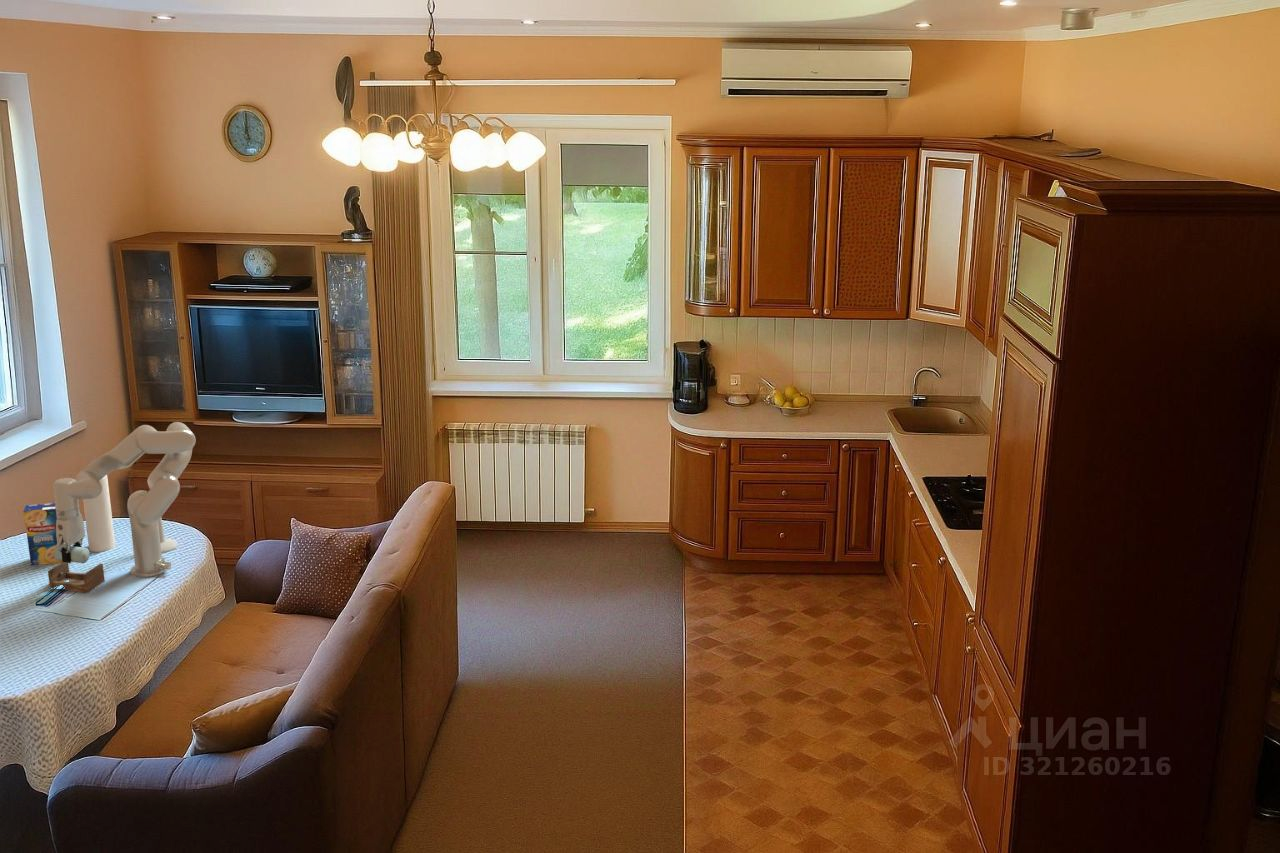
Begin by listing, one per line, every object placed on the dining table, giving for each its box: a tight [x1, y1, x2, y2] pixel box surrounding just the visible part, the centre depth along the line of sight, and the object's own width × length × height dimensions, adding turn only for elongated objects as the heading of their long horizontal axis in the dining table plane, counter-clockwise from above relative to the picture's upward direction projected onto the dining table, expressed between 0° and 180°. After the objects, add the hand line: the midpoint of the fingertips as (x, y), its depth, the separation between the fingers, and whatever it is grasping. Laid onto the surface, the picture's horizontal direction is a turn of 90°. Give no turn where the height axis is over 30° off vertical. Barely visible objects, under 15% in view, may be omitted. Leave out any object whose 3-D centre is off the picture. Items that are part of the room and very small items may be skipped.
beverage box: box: [23, 502, 62, 566], centre depth 425 cm, size 7×11×22 cm, turn 111°
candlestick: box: [158, 516, 179, 554], centre depth 439 cm, size 13×13×30 cm
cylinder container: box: [82, 474, 116, 553], centre depth 437 cm, size 9×9×30 cm
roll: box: [54, 545, 90, 564], centre depth 405 cm, size 10×6×6 cm, turn 81°
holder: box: [47, 562, 106, 594], centre depth 408 cm, size 15×10×7 cm, turn 81°
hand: (72, 558), depth 406 cm, fingers closed on roll, 5 cm apart
